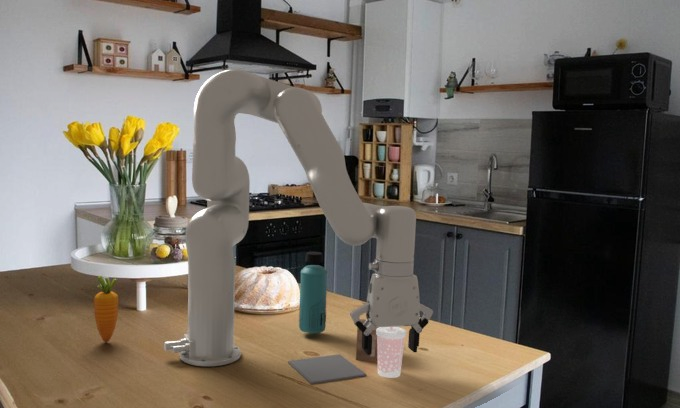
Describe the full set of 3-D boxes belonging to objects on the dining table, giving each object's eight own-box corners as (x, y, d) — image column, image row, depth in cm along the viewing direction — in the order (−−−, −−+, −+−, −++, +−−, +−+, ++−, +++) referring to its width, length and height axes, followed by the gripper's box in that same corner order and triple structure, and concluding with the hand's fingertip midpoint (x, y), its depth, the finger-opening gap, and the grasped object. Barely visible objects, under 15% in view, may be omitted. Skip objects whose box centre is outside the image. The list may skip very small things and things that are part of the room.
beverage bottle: (322, 340, 148) (325, 255, 146) (294, 337, 149) (297, 253, 147) (328, 332, 154) (331, 251, 152) (301, 329, 156) (304, 248, 153)
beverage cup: (387, 365, 134) (391, 300, 132) (410, 374, 129) (414, 307, 128) (367, 372, 130) (371, 305, 128) (390, 381, 125) (394, 312, 124)
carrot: (123, 341, 142) (123, 275, 140) (106, 348, 137) (106, 279, 136) (106, 337, 144) (106, 272, 142) (89, 344, 139) (88, 276, 138)
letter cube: (388, 362, 136) (390, 330, 135) (355, 360, 136) (357, 328, 136) (387, 351, 143) (389, 320, 142) (356, 349, 143) (358, 319, 143)
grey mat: (311, 384, 122) (311, 382, 122) (288, 362, 133) (288, 361, 133) (366, 375, 128) (366, 373, 128) (339, 356, 138) (339, 354, 138)
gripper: (358, 273, 121) (354, 360, 123) (442, 271, 126) (437, 355, 128) (347, 265, 128) (343, 347, 130) (427, 263, 133) (422, 343, 135)
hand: (390, 351), depth 129 cm, fingers open, 9 cm apart
